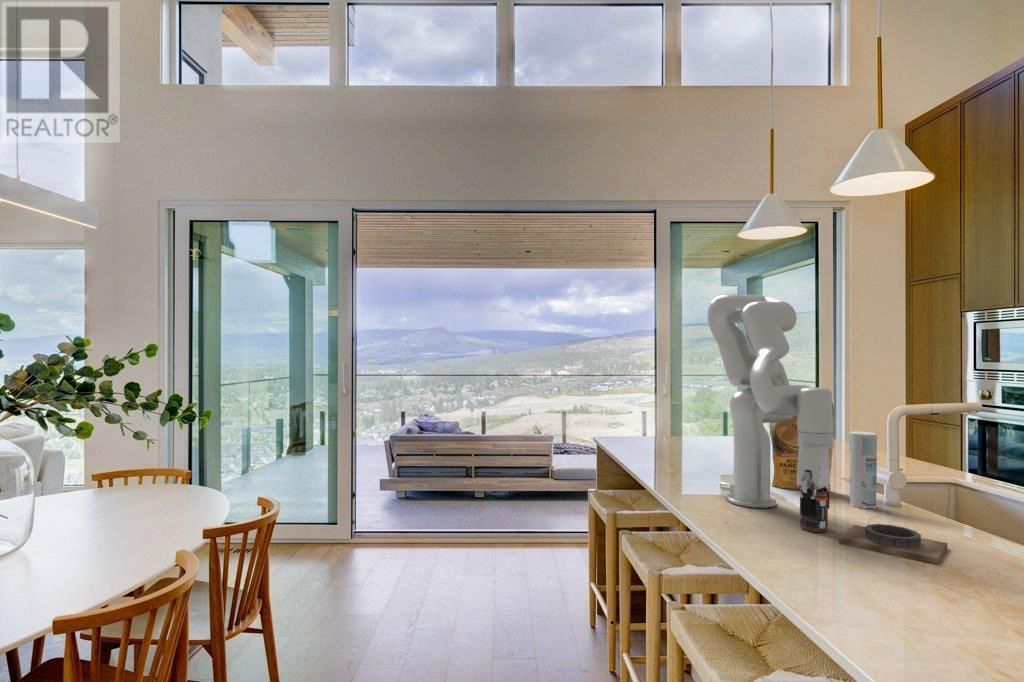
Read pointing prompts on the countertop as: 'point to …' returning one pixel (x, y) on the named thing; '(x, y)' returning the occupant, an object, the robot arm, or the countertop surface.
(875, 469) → the spray can
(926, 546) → the bottle holder
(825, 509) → the supplement bottle
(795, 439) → the pancake mix bag
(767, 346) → the robot arm
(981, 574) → the countertop surface
